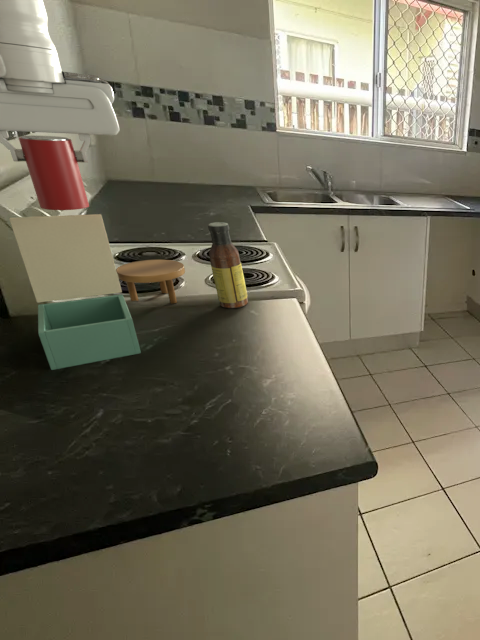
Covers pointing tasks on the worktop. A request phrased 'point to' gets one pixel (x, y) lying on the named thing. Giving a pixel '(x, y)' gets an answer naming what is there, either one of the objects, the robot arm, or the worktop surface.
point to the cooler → (86, 331)
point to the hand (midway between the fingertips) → (51, 161)
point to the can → (54, 172)
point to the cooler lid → (66, 256)
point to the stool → (151, 275)
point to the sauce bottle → (226, 267)
